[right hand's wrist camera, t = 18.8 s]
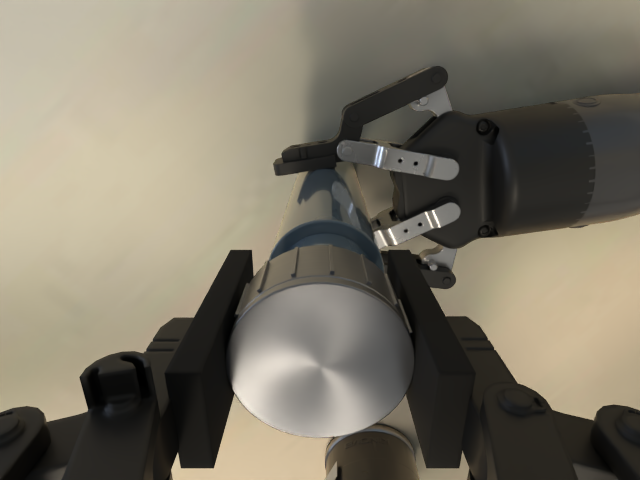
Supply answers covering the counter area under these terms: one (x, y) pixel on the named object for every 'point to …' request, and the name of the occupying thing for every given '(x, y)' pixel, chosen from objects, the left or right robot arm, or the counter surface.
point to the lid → (320, 344)
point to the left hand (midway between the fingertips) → (285, 206)
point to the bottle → (328, 214)
